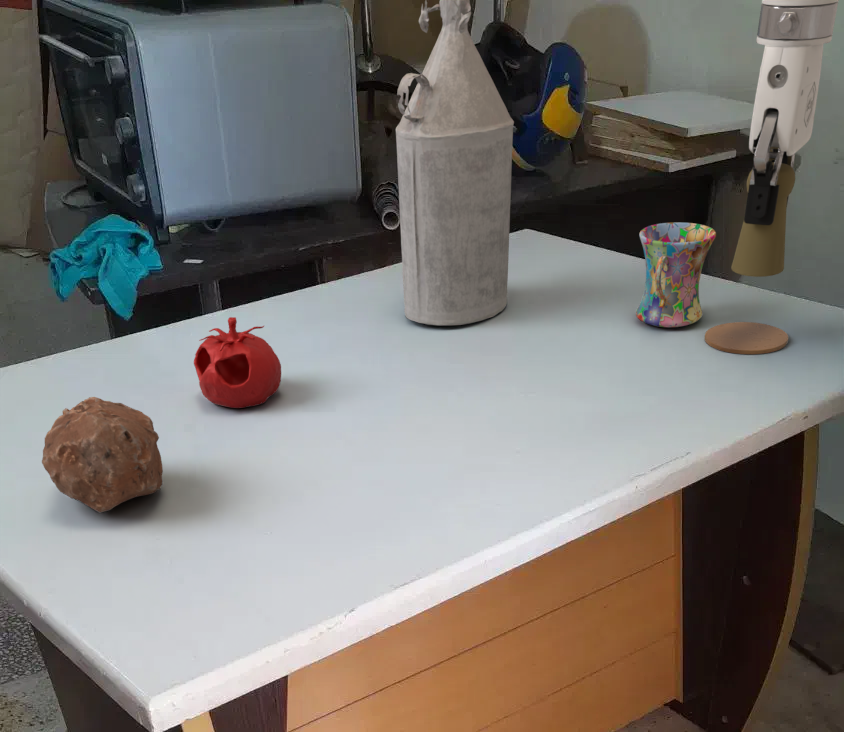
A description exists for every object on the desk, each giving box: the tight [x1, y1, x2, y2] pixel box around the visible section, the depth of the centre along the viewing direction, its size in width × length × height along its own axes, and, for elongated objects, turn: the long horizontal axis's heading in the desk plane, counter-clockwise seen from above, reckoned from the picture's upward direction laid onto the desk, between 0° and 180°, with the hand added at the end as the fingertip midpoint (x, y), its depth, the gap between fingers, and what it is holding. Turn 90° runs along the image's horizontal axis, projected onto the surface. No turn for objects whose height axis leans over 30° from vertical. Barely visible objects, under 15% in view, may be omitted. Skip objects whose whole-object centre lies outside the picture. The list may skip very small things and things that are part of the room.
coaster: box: [704, 321, 789, 355], centre depth 126 cm, size 10×10×1 cm
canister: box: [395, 0, 515, 327], centre depth 126 cm, size 13×17×40 cm
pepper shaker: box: [730, 162, 796, 278], centre depth 117 cm, size 6×6×11 cm
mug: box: [635, 221, 717, 328], centre depth 128 cm, size 12×9×11 cm
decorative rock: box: [41, 396, 164, 514], centre depth 99 cm, size 13×11×10 cm
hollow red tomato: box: [193, 316, 282, 409], centre depth 117 cm, size 10×10×9 cm
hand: (765, 215), depth 117 cm, fingers closed on pepper shaker, 5 cm apart
